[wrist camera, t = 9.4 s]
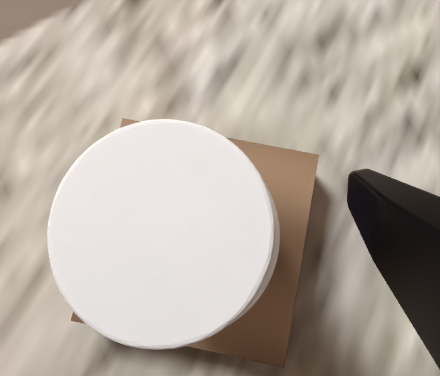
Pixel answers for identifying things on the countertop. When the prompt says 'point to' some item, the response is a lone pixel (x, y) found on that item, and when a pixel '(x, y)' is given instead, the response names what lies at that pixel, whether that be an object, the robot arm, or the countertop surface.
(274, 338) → the walnut block
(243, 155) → the pill bottle
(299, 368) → the countertop surface
